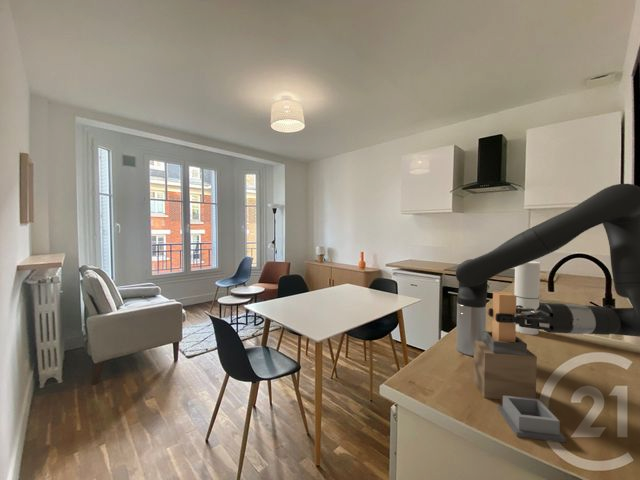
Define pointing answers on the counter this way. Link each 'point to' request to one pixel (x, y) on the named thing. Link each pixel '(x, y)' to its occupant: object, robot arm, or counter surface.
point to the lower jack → (530, 419)
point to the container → (527, 290)
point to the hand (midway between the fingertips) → (492, 314)
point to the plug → (505, 305)
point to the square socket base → (504, 368)
